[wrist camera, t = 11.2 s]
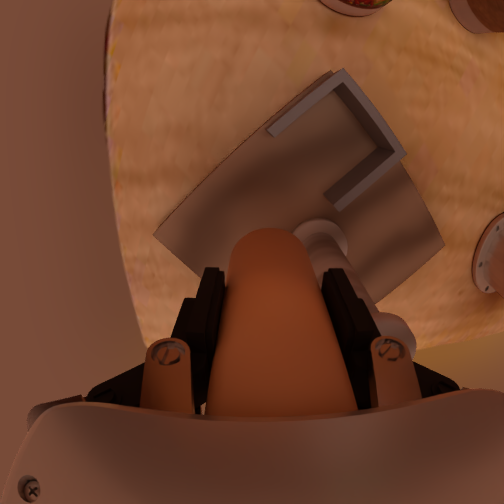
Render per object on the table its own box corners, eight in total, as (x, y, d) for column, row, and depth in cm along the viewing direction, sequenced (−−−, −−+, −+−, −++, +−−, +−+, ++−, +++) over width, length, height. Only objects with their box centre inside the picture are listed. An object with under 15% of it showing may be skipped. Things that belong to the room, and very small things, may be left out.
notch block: (388, 148, 23) (407, 154, 19) (328, 200, 25) (339, 212, 22) (330, 74, 20) (343, 67, 17) (264, 128, 22) (267, 129, 19)
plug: (324, 265, 14) (391, 446, 5) (267, 310, 16) (275, 490, 7) (271, 210, 13) (299, 400, 4) (212, 264, 14) (166, 454, 5)
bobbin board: (436, 238, 29) (530, 325, 13) (296, 346, 35) (315, 467, 20) (325, 73, 22) (428, 20, 6) (158, 227, 28) (76, 342, 13)
